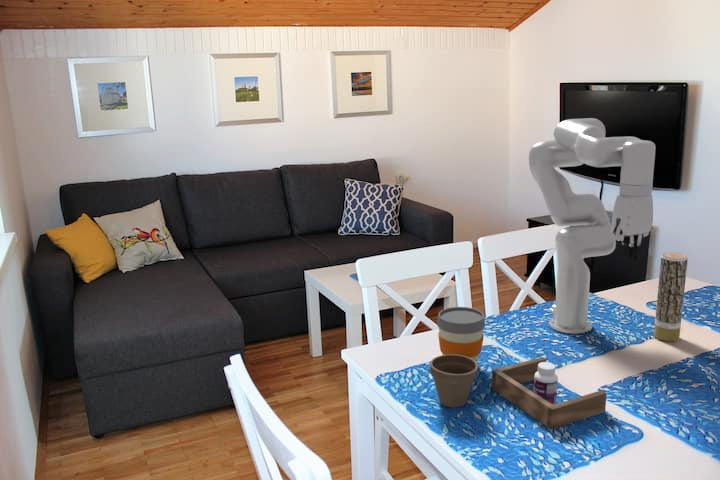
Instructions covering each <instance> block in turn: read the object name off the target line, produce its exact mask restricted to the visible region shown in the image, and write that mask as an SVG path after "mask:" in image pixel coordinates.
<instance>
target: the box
mask: <svg viewBox="0 0 720 480" xmlns="http://www.w3.org/2000/svg"><path fill="white" fill-rule="evenodd" d="M541 362H547V358H546V357H544V356H540V357H538V358H533V359H530V360H526V361H521V362H518V363H514V364H511V365H507V366H503V367H499V368H496V369H495V368H494V369H492V370H491V389H492V390H493V391H495V392H496V393H498V394H499V395H500V396H502V397H504V398H505V399H506V400H508V401H509V402H511V403H512V404H514V405H515V406H517V407H518V408H519V409H521V410H522V411H523V412H525V413H527V414H528V415H529V416H530V417H532V418H534V419H535V420H536V421H538V422H539V423H541V424H542V425H543V426H545V427H547V428H548V429H549V428H550V429H549V430H551V429H552V430H555V429H558V428H561V427H564V426H567V425H570V423H571V424H573V423H572V422H574V423H577V422H579V421H578V420H580V421H582V420H581V419H583V420H585V419H584V418H586V419H588V417H589V418H592V417H595V416H598V415H601V414H604V413H603V412H605V413H606V406H607V394H608V393H607V391H606V392H605V391H604V390H602V389H601V390H597V391H594V392H591V393H588V394H585V395H581V396H578V397H576V398H575V397H574V398H571V399H569V400H565V401H562V402H558V403H556V404H555V405H552V404H551V403H549V402H548V401H546V400H544V399H543V398H541V397H540V396H538V395H537V394H535V393H534V392H533V391H532V390H531V389H529V388H527V387H525V385H523V384H526V383H528V382H531V381H534V376H535V373H536V372H537V371H538V364H539V363H541ZM600 413H601V414H600ZM597 414H598V415H597ZM594 415H595V416H594ZM591 416H592V417H591ZM576 421H577V422H576ZM566 424H567V425H566ZM557 427H558V428H557Z"/></svg>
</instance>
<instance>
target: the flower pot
mask: <svg viewBox="0 0 720 480" xmlns="http://www.w3.org/2000/svg"><path fill="white" fill-rule="evenodd" d="M478 372H479V363H478V364H477V362H476V361H474V360H473V359H471V358H469V357H466V356H462V355H453V354H450V355H438V356H436V357H434V358H432V359H431V360H430V363H429V373H430V375H431V376H432V377H433V379H434V384H435V389H436V393H437V396H438V400H439V403H440V404H441V405H442V406H445V407H448V408H460V407H463V406H465V405H466V404H467V401H468V399H469V396H470V393H471V389H472V386H473V382H474V380H476V379H477V377H478V375H479V373H478Z"/></svg>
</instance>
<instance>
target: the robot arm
mask: <svg viewBox="0 0 720 480" xmlns="http://www.w3.org/2000/svg"><path fill="white" fill-rule="evenodd" d="M553 138H554V139H552V140H549V139H548V140H544V141H540V142H537V143H535V144H534V145H532V146H531V147H530V149H529V153H528V165H529V169H530V173H531V174H532V177H533V179H534V180H535V182H536V184H537V185H538V187H539V189H540V191H541V193H542V196H543V198H544V202H545V204H546V207H547V210H548V213H549V216H550V218H551V220H552V222H553V223H554V224H555V225H556V226H557V227H564V228H562V229H560V230H559V231H558V232H557V233H556V235H555V238H554V245H555V251H556V261H557V262H556V265H557V266H556V267H557V268H556V289H555V290H556V291H555V304H553V305H551V307H550V308H548V310H547V311H548V313H550V314H552V318H550V319H549V322H548V324H549V326H550V328H551V329H553V330H554V331H557V332H560V333H563V334H571V335H572V334H573V335H579V334H580V333H581V334H586V333H588V331H589V332H591V330H593V323H592V322H591V321H590V320H588V314H589V311H588V310H589V297H590V281H591V272H590V268H589V266H588V264H586V262H585V261H584V259H585V258H591V257H601V256H607V255H610V254H612V253H613V252H614V250H615V249H616V245H617V242H616V241H618V242H620V241H621V244H622V245H623V254H622V258H623V260H624V261H627V262H631V263H633V262H636V261H638V254H639V247H640V246H641V243H642V240H643V239H644V238H645V237H647V236H649V235H650V231H652V228H653V223H654V221H653V220H654V201H653V200H654V199H653V195H652V193H653V188H654V186H653V185H654V184H653V183H654V181H653V180H654V172H655V171H654V170H655V160H656V147H657V146H656V144H655V143H654V142H653V141H652V140H645V139H644V140H643V139H640V138H638V137H636V136H627V135H626V136H610V137H607V136H606V126H605V124H604V123H603V122H602V121H601V120H599V119H597V118H593V117H589V118H588V117H587V118H586V117H585V118H570V119H564V120H562V121H561V122H559V123H558V124H556V126H555V127H554V130H553ZM584 164H585V165H587V166H590V167H594V168H609V167H621V168H620V169H621V170H620V180H619V192H618V193H619V194H618V195H616V198H615V201H614V205H613V210H612V215H611V216H612V218H611V220H610V218H609V216H608V213H607V211H606V207H605V205H604V203H603V202H602V200H601V199H600V198H599V197H598V196H597V195H595V194H593V193H581V194H577V193H574V192H573V190H572V187H571V184H570V182H569V180H568V179H567V178H566V176H564V175H563V174H562V173H561V172H559V171H558V170H557V169H555V168H566V167H567V168H568V167H578V166H582V165H584ZM585 332H586V333H585Z"/></svg>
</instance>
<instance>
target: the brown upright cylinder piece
mask: <svg viewBox="0 0 720 480" xmlns="http://www.w3.org/2000/svg"><path fill="white" fill-rule="evenodd" d="M688 258H689V257H688V255H686V254H684V253H679V252H664V253H662V254H661V258H660V267H659V276H658V286H657V296H656V297H657V298H656V308H655V309H656V310H655V319H654V330H653V335H654V338H656V339H657V340H659V341H662V342H669V343H670V342H676V341H678V340H679V339H680V335H681V327H682V326H681V325H682V316H683V307H684V297H685V288H686V279H687V270H688Z"/></svg>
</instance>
